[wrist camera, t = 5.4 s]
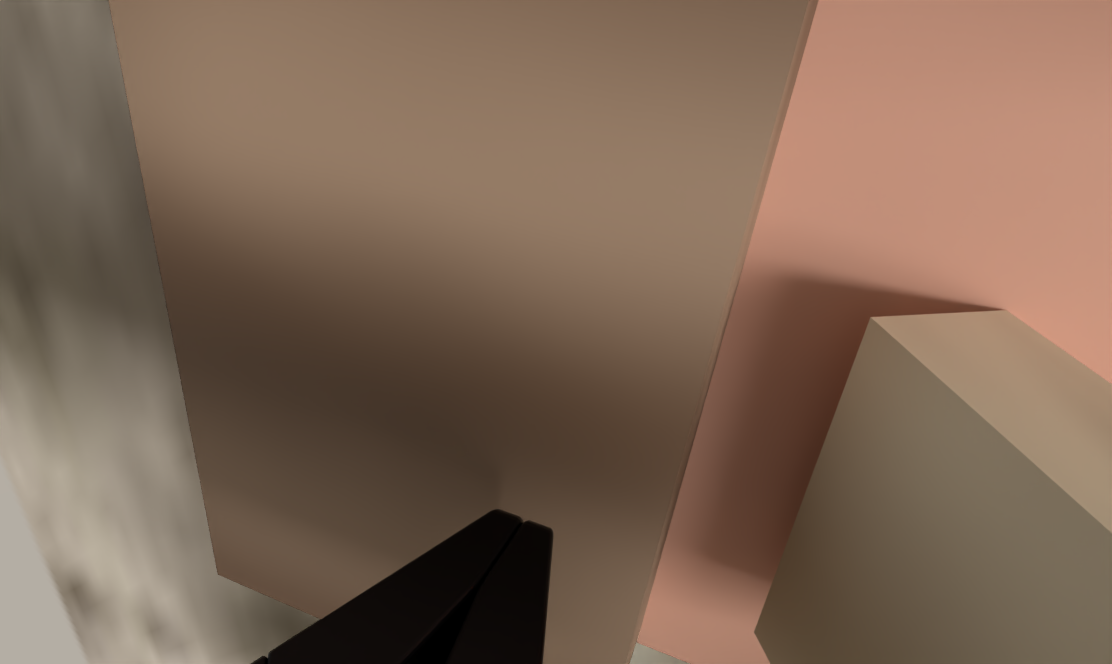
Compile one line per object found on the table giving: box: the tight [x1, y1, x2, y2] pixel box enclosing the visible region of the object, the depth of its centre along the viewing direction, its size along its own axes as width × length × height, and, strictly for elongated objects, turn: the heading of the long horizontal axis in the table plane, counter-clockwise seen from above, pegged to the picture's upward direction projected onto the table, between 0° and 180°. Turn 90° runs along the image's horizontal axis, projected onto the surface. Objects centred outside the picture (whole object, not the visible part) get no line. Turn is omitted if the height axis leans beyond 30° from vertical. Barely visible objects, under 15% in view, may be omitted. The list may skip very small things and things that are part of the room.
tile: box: [754, 310, 1112, 664], centre depth 9 cm, size 6×5×2 cm
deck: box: [108, 0, 819, 664], centre depth 12 cm, size 12×8×3 cm, turn 172°
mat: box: [637, 0, 1112, 664], centre depth 11 cm, size 13×9×1 cm
